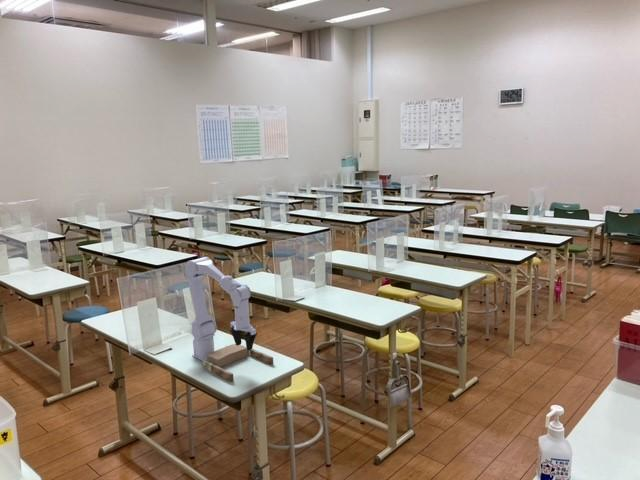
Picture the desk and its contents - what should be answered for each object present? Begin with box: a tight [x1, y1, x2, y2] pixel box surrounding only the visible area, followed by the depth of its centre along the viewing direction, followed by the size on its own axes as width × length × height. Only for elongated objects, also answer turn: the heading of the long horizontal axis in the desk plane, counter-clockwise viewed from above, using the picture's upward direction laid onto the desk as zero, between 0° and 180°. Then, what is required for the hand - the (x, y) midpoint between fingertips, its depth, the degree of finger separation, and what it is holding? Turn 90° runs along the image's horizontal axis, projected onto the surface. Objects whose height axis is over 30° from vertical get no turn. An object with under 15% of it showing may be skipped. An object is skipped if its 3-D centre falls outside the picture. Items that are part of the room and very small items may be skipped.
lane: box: [202, 345, 274, 383], centre depth 208 cm, size 20×22×3 cm
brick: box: [206, 343, 249, 368], centre depth 214 cm, size 17×8×5 cm, turn 138°
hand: (244, 347), depth 203 cm, fingers open, 7 cm apart
